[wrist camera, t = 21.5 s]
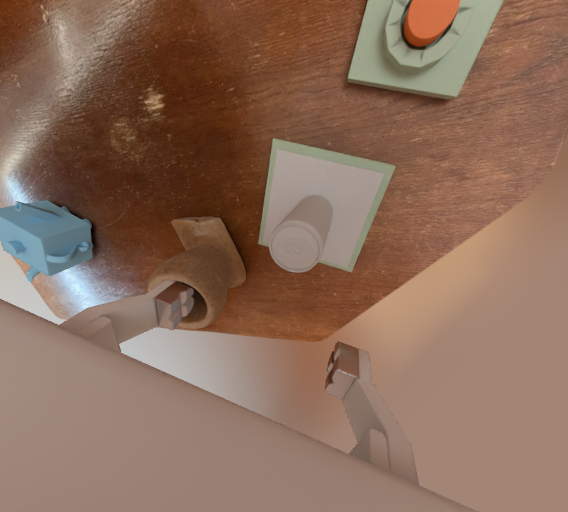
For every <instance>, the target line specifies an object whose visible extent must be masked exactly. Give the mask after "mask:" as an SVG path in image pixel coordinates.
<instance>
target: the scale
mask: <svg viewBox="0 0 568 512" xmlns="http://www.w3.org/2000/svg"><path fill="white" fill-rule="evenodd" d="M395 167H396V166H395V165H393V164H388V163H384V162H380V161H375V160H371V159H366V158H362V157H357V156H353V155H348V154H344V153H339V152H335V151H330V150H326V149H322V148H317V147H313V146H308V145H304V144H299V143H295V142H290V141H286V140H281V139H273V143H272V150H271V157H270V164H269V171H268V178H267V185H266V192H265V199H264V206H263V213H262V220H261V227H260V234H259V241H258V244H260V245H264V246H267V247H269V241H270V238H271V236H272V233H273V231H274V230H275V228H276V227H277V226H278V225H279V224H280V223H281V222H282V221H283V219H284V218H285V217H286V216H287V215H288V214H289V213H290V212H291V211H292V210H293V209H294V208H295V207H296V206H297V205H298V204H299V203H300V202H301V201H302V200H303V199H305V198H306V197H309V196H312V195H319V196H322V197H324V198H326V199H327V200H328V201H329V202H330V204H331V206H332V209H333V218H332V222H331V225H330V229H329V232H328V236H327V240H326V243H325V247H324V250H323V254H322V256H321V258H320V260H319V261H318V262H319V263H322V264H326V265H329V266H332V267H335V268H339V269H342V270H345V271H348V272H352V270H353V267H354V265H355V263H356V260H357V258H358V255H359V253H360V251H361V248H362V246H363V244H364V241H365V239H366V236H367V234H368V232H369V229H370V227H371V224H372V222H373V220H374V217H375V215H376V212H377V210H378V208H379V205H380V203H381V200H382V198H383V196H384V193H385V191H386V189H387V186H388V184H389V181H390V179H391V177H392V174H393V172H394V169H395Z"/></svg>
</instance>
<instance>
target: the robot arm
mask: <svg viewBox="0 0 568 512" xmlns="http://www.w3.org/2000/svg"><path fill="white" fill-rule="evenodd" d="M193 294H194V289H192V288H190V287H188V286H185V285H183V284H180V283H178V282H175V281H172V280H170V279H168V280H165V281H164V282H162V283H161V284H159V285H158V286H156V287H155V288H154V289H152V290H151V291H149V292H148V293H147V294H145V295H138V296H134V297H130V298H126V299H122V300H118V301H114V302H110V303H106V304H102V305H98V306H94V307H90V308H87V309H85V310H83V311H82V312H80V313H78V314H77V315H75V316H73V317H72V318H70V319H69V320H67V321H65V322H64V323H62V324H60V325H57V324H55V323H53V322H51V321H48V320H46V319H44V318H42V317H39V316H37V315H35V314H33V313H30V312H28V311H26V310H24V309H22V308H19V307H17V306H15V305H13V304H10V303H8V302H6V301H4V300H2V299H0V512H478V511H475V510H473V509H471V508H469V507H466V506H464V505H462V504H460V503H457V502H455V501H453V500H451V499H448V498H446V497H444V496H442V495H439V494H437V493H435V492H433V491H430V490H428V489H426V488H424V487H421V486H419V483H418V477H417V472H416V467H415V461H414V456H413V451H412V446H411V443H410V441H409V440H408V438H407V436H406V435H405V434H404V432H403V430H402V428H401V427H400V425H399V424H398V422H397V420H396V419H395V417H394V415H393V414H392V412H391V411H390V409H389V407H388V406H387V404H386V403H385V401H384V399H383V398H382V396H381V394H380V393H379V391H378V390H377V388H376V386H375V385H373V384H372V383H371V370H370V358H369V353H368V352H366V351H363V350H360V349H357V348H355V347H352V346H350V345H347V344H344V343H341V342H337V343H336V345H335V349H334V351H333V352H332V353H331V356H330V358H329V362H328V368H327V371H328V376H327V378H326V385H325V393H327V394H329V395H332V396H334V397H336V398H339V399H341V400H342V403H343V405H344V408H345V411H346V413H347V416H348V418H349V421H350V424H351V426H352V428H353V432H354V434H355V437H356V440H357V442H358V444H357V445H356V446H355V447H354V448H353V450H352V451H351V452H350V453H349V454H347V453H345V452H343V451H340V450H338V449H336V448H334V447H332V446H329V445H327V444H325V443H322V442H320V441H318V440H316V439H313V438H311V437H309V436H307V435H305V434H302V433H300V432H298V431H295V430H293V429H291V428H289V427H287V426H284V425H282V424H280V423H278V422H275V421H273V420H271V419H269V418H266V417H264V416H262V415H260V414H257V413H255V412H253V411H250V410H248V409H246V408H244V407H242V406H239V405H237V404H235V403H233V402H230V401H228V400H226V399H224V398H221V397H219V396H217V395H215V394H212V393H210V392H208V391H206V390H203V389H201V388H199V387H197V386H194V385H192V384H190V383H188V382H185V381H183V380H181V379H179V378H176V377H174V376H172V375H170V374H167V373H165V372H163V371H161V370H158V369H156V368H154V367H152V366H149V365H147V364H145V363H143V362H140V361H138V360H136V359H133V358H131V357H129V356H127V355H125V354H122V353H121V350H120V346H119V343H122V342H124V341H126V340H128V339H131V338H133V337H135V336H137V335H140V334H142V333H144V332H146V331H148V330H150V329H153V328H155V327H157V326H158V325H159V326H162V327H165V328H168V329H170V330H173V329H174V328H175V327H176V326H177V325H178V324H179V323H180V322H181V319H182V317H185V316H187V315H188V314H189V313H190V312H191V310H192V308H193V306H194V299H193V297H192V295H193Z"/></svg>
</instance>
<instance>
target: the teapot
mask: <svg viewBox="0 0 568 512" xmlns="http://www.w3.org/2000/svg"><path fill="white" fill-rule="evenodd" d="M91 228H92V225H91V223H90V221H89V220H87V219H83V220H81V219H79V218H78V217H76V216H74V215H72V214H70V212H69V210H68V209H67V208H66V207H62V208H60V207H58V206H56V205H54V204H53V203H51V202H49V201H47V200H44V201H39V202H33V203H27V204H25V203H21V202H16V205H15V206H10V207H5V208H0V241H1V244H2V246H3V250H4V251H6V252H8V253H9V254H11V255H13V256H14V257H16V258H18V259H20V260H21V261H23V262H25V263H26V264H28V265H30V266H32V268H30V270H29V271H28V272H27V279H28V281H30V282H32V281H33V279H34V277H35V276H36V275H37V274H38V273H40V272H42V273H44V274H46V275H48V276H52V275H54V274H56V273H59V272H61V271H63V270H66V269H68V268H70V267H73V266H75V265H77V264H80V263H82V262H84V261H86V260H89V259H91V258H93V255H92V248H93V244H92V242H91V230H90V229H91Z"/></svg>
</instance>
